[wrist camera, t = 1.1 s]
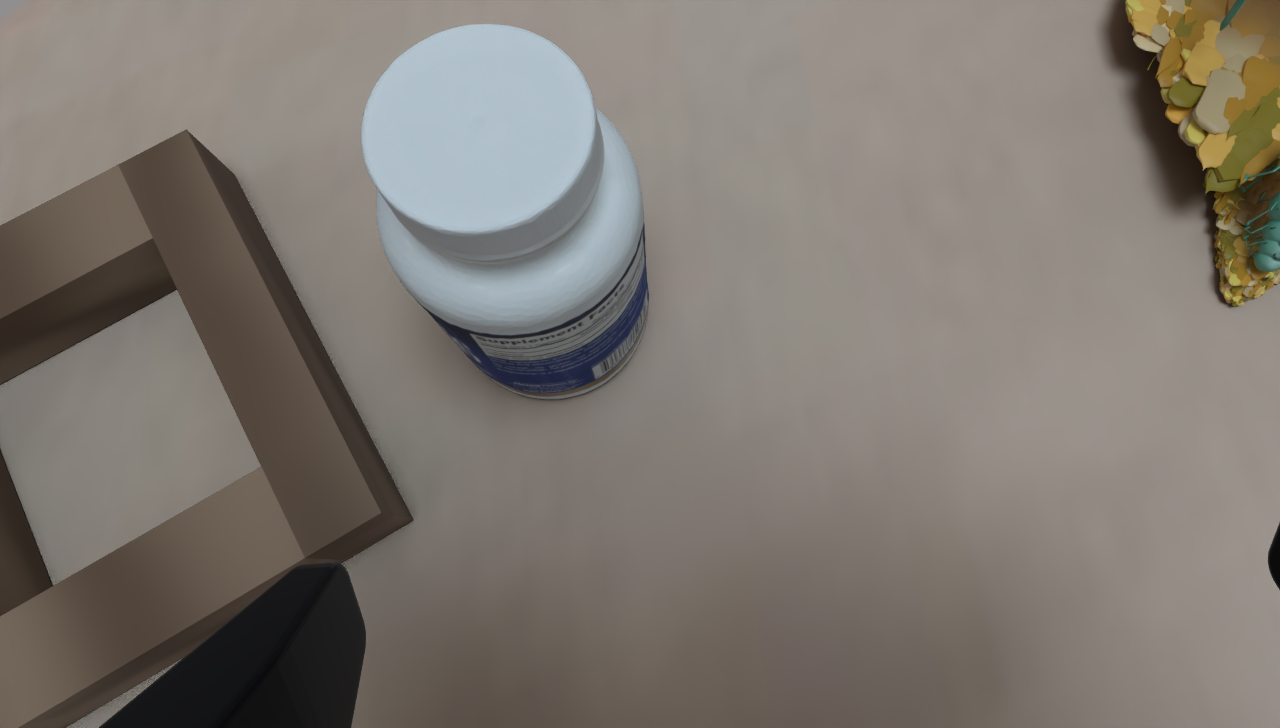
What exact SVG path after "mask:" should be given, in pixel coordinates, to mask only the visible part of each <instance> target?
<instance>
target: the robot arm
mask: <svg viewBox="0 0 1280 728" xmlns="http://www.w3.org/2000/svg"><path fill="white" fill-rule="evenodd" d="M1268 565H1269V570H1270V573H1271V575H1272V578H1273V580H1274V582H1275V583H1276V585H1277V586H1278V588H1279V590H1280V523H1279V526H1278V528H1277V531H1276V533H1275V536H1274V539H1273V541H1272V544H1271V547H1270V549H1269V553H1268ZM365 647H366V630H365V624H364V620H363V617H362V614H361V611H360V608H359V605H358V602H357V599H356V596H355V593H354V589H353V586H352V583H351V580H350V577H349V574H348V572H347V570H346V568H345V567H344V566H343V565H342V564H340V563H338V562H325V563H312V564H303V565H299V566H296V567H295V568H293V569H292V570H290V571H289V572H288V573H287V574H285V575H284V576H283V577H282V578H280V579H279V580H278V581H277V582H276V583H274V584H273V585H272V586H271V587H270V588H268V589H267V590H266V591H265V592H263V593H262V594H261V595H260V596H259V597H257V598H256V599H255V600H254V601H252V602H251V603H250V604H249V605H248V606H246V607H245V608H244V609H243V610H241V611H240V612H239V613H238V614H237V615H235V616H234V617H233V618H232V619H231V620H229V621H228V622H227V623H226V624H224V625H223V626H222V627H221V628H220V629H218V630H217V631H216V632H215V633H213V634H212V635H211V636H210V637H209V638H207V639H206V640H205V641H204V642H202V643H201V644H200V645H199V646H198V647H196V648H195V649H194V650H193V651H192V652H190V653H189V654H188V655H187V656H185V657H184V658H183V659H182V660H181V661H179V662H178V663H177V664H176V665H174V666H173V667H172V668H171V669H170V670H168V671H167V672H166V673H165V674H163V675H162V676H161V677H160V678H159V679H157V680H156V681H155V682H154V683H153V684H151V685H150V686H149V687H148V688H146V689H145V690H144V691H143V692H142V693H140V694H139V695H138V696H137V697H135V698H134V699H133V700H132V701H131V702H129V703H128V704H127V705H126V706H124V707H123V708H122V709H121V710H120V711H118V712H117V713H116V714H115V715H114V716H112V717H111V718H110V719H109V720H107V721H106V722H105V723H104V724H103V725H101V726H100V727H99V728H351V725H352V720H353V714H354V709H355V703H356V698H357V692H358V687H359V681H360V676H361V670H362V665H363V659H364V654H365Z"/></svg>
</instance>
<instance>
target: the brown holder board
mask: <svg viewBox="0 0 1280 728" xmlns="http://www.w3.org/2000/svg"><path fill="white" fill-rule="evenodd" d="M176 289H177V290H178V292H179V294H180V296H181V298H182V300H183V303H184V305H185V307H186V309H187V311H188V313H189V315H190V317H191V319H192V321H193V324H194V326H195V328H196V330H197V332H198V334H199V336H200V338H201V340H202V343H203V345H204V347H205V349H206V351H207V353H208V355H209V357H210V359H211V361H212V364H213V366H214V368H215V370H216V372H217V374H218V376H219V378H220V380H221V382H222V385H223V387H224V389H225V391H226V393H227V395H228V397H229V399H230V401H231V404H232V406H233V408H234V410H235V412H236V414H237V416H238V418H239V420H240V422H241V425H242V427H243V429H244V431H245V433H246V435H247V437H248V439H249V441H250V444H251V446H252V448H253V450H254V452H255V454H256V456H257V458H258V460H259V462H260V465H261V467H260V468H258V469H256V470H255V471H253V472H251V473H249V474H248V475H246V476H244V477H242V478H241V479H239V480H237V481H235V482H234V483H232V484H230V485H228V486H227V487H225V488H223V489H221V490H220V491H218V492H216V493H214V494H213V495H211V496H209V497H207V498H206V499H204V500H202V501H201V502H199V503H197V504H195V505H194V506H192V507H190V508H188V509H187V510H185V511H183V512H181V513H180V514H178V515H176V516H174V517H173V518H171V519H169V520H167V521H166V522H164V523H162V524H160V525H159V526H157V527H155V528H153V529H152V530H150V531H148V532H147V533H145V534H143V535H141V536H140V537H138V538H136V539H134V540H133V541H131V542H129V543H127V544H126V545H124V546H122V547H120V548H119V549H117V550H115V551H113V552H112V553H110V554H108V555H106V556H105V557H103V558H101V559H99V560H98V561H96V562H94V563H93V564H91V565H89V566H87V567H86V568H84V569H82V570H80V571H79V572H77V573H75V574H73V575H72V576H70V577H68V578H66V579H65V580H63V581H61V582H59V583H58V584H56V585H54V586H52V584H51V582H50V579H49V576H48V574H47V571H46V569H45V566H44V563H43V561H42V558H41V556H40V553H39V550H38V548H37V545H36V543H35V540H34V538H33V535H32V532H31V530H30V527H29V525H28V522H27V519H26V517H25V514H24V512H23V509H22V507H21V504H20V501H19V499H18V496H17V494H16V491H15V488H14V486H13V483H12V481H11V478H10V475H9V473H8V470H7V468H6V465H5V463H4V460H3V457H2V455H1V452H0V728H66V727H67V726H69V725H71V724H72V723H74V722H76V721H77V720H79V719H81V718H82V717H84V716H86V715H87V714H89V713H91V712H92V711H94V710H96V709H97V708H99V707H101V706H103V705H104V704H106V703H108V702H109V701H111V700H113V699H114V698H116V697H118V696H119V695H121V694H123V693H124V692H126V691H128V690H129V689H131V688H133V687H134V686H136V685H138V684H139V683H141V682H143V681H144V680H146V679H148V678H150V677H151V676H153V675H155V674H156V673H158V672H160V671H161V670H163V669H165V668H166V667H168V666H170V665H171V664H173V663H175V662H176V661H178V660H180V659H181V658H183V657H185V656H186V655H188V654H189V653H190V652H192V651H193V650H194V649H195V648H196V647H198V646H199V645H200V644H201V643H202V642H204V641H205V640H206V639H207V638H209V637H210V636H211V635H212V634H213V633H215V632H216V631H217V630H218V629H220V628H221V627H222V626H223V625H224V624H226V623H227V622H228V621H229V620H231V619H232V618H233V617H234V616H235V615H237V614H238V613H239V612H240V611H241V610H243V609H244V608H245V607H246V606H248V605H249V604H250V603H251V602H252V601H254V600H255V599H256V598H257V597H259V596H260V595H261V594H262V593H263V592H265V591H266V590H267V589H268V588H270V587H271V586H272V585H273V584H274V583H276V582H277V581H278V580H279V579H280V578H282V577H283V576H284V575H285V574H287V573H288V572H289V571H290V570H292V569H293V568H295V567H296V566H299V565H303V564H312V563H325V562H338V563H340V564H341V563H343V562H344V561H346V560H348V559H349V558H351V557H353V556H354V555H356V554H358V553H359V552H361V551H363V550H364V549H366V548H368V547H369V546H371V545H373V544H374V543H376V542H378V541H379V540H381V539H383V538H385V537H386V536H388V535H390V534H391V533H393V532H395V531H396V530H398V529H400V528H401V527H403V526H405V525H406V524H408V523H410V522H411V521H413V518H412V516H411V514H410V512H409V510H408V509H407V507H406V505H405V503H404V501H403V499H402V497H401V495H400V493H399V491H398V489H397V487H396V485H395V483H394V482H393V480H392V478H391V476H390V474H389V472H388V470H387V468H386V466H385V464H384V462H383V460H382V458H381V456H380V455H379V453H378V451H377V449H376V447H375V445H374V443H373V441H372V439H371V437H370V435H369V433H368V431H367V429H366V428H365V426H364V424H363V422H362V420H361V418H360V416H359V414H358V412H357V410H356V408H355V406H354V404H353V402H352V401H351V399H350V397H349V395H348V393H347V391H346V389H345V387H344V385H343V383H342V381H341V379H340V377H339V375H338V374H337V372H336V370H335V368H334V366H333V364H332V362H331V360H330V358H329V356H328V354H327V352H326V350H325V348H324V347H323V345H322V343H321V341H320V339H319V337H318V335H317V333H316V331H315V329H314V327H313V325H312V323H311V321H310V319H309V318H308V316H307V314H306V312H305V310H304V308H303V306H302V304H301V302H300V300H299V298H298V296H297V294H296V292H295V291H294V289H293V287H292V285H291V283H290V281H289V279H288V277H287V275H286V273H285V271H284V269H283V267H282V265H281V264H280V262H279V260H278V258H277V256H276V254H275V252H274V250H273V248H272V246H271V244H270V242H269V240H268V238H267V237H266V235H265V233H264V231H263V229H262V227H261V225H260V223H259V221H258V219H257V217H256V215H255V213H254V211H253V210H252V208H251V206H250V204H249V202H248V200H247V198H246V196H245V194H244V192H243V190H242V188H241V186H240V184H239V183H238V181H237V179H236V177H235V175H234V174H233V173H232V172H231V171H230V170H229V169H228V168H227V167H226V166H225V165H224V164H223V163H222V162H221V161H219V160H218V159H217V158H216V157H215V156H214V155H213V154H212V153H211V152H210V151H209V150H208V149H207V148H206V147H204V146H203V145H202V144H201V143H200V142H199V141H198V140H197V139H196V138H195V137H194V136H193V135H192V134H191V133H190V132H188V131H187V130H184V131H183V132H181V133H179V134H177V135H175V136H173V137H171V138H169V139H167V140H165V141H163V142H161V143H159V144H157V145H155V146H154V147H152V148H150V149H148V150H146V151H144V152H142V153H140V154H138V155H136V156H134V157H132V158H130V159H128V160H126V161H125V162H123V163H121V164H119V165H117V166H115V167H113V168H111V169H109V170H107V171H105V172H103V173H101V174H99V175H97V176H96V177H94V178H92V179H90V180H88V181H86V182H84V183H82V184H80V185H78V186H76V187H74V188H72V189H70V190H69V191H67V192H65V193H63V194H61V195H59V196H57V197H55V198H53V199H51V200H49V201H47V202H45V203H43V204H41V205H40V206H38V207H36V208H34V209H32V210H30V211H28V212H26V213H24V214H22V215H20V216H18V217H16V218H14V219H12V220H11V221H9V222H7V223H5V224H3V225H1V226H0V384H2V383H4V382H6V381H7V380H9V379H11V378H13V377H15V376H17V375H18V374H20V373H22V372H24V371H26V370H28V369H30V368H31V367H33V366H35V365H37V364H39V363H41V362H43V361H44V360H46V359H48V358H50V357H52V356H54V355H55V354H57V353H59V352H61V351H63V350H65V349H67V348H68V347H70V346H72V345H74V344H76V343H78V342H80V341H81V340H83V339H85V338H87V337H89V336H91V335H92V334H94V333H96V332H98V331H100V330H102V329H104V328H105V327H107V326H109V325H111V324H113V323H115V322H117V321H118V320H120V319H122V318H124V317H126V316H128V315H129V314H131V313H133V312H135V311H137V310H139V309H141V308H142V307H144V306H146V305H148V304H150V303H152V302H154V301H155V300H157V299H159V298H161V297H163V296H165V295H166V294H168V293H170V292H172V291H174V290H176Z"/></svg>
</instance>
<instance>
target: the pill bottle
mask: <svg viewBox="0 0 1280 728" xmlns="http://www.w3.org/2000/svg"><path fill="white" fill-rule="evenodd" d="M361 142H362V151H363V156H364V160H365V163H366V167H367V169H368V172H369V175H370V177H371V179H372V181H373V183H374V184H375V186H376V188H377V189H378V192H377V203H376V207H377V225H378V230H379V235H380V239H381V243H382V246H383V249H384V252H385V254H386V256H387V259H388V261H389V263H390V265H391V267H392V268H393V270H394V272H395V273H396V275H397V276H398V278H399V279H400V281H401V282H402V284H403V286H404V287H405V288H406V289H407V291H408V292H409V293H410V294H411V295H412V296H413V297H414V298H415V299H416V301H417V302H418V303H419V304H420V305H421V306H422V307H423V308H424V309H425V310H426V311H427V312H428V313H429V314H430V315H431V316H432V317H433V318H434V319H435V321H436V322H437V323H438V324H439V325H440V326H441V328H442V329H443V330H444V331H445V332H446V333H447V334H448V335H449V336H450V337H451V338H452V339H453V341H454V342H455V343H456V344H457V345H458V346H459V347H460V348H461V349H462V351H463V352H464V353H465V354H466V355H467V357H468V358H469V359H470V360H471V361H472V362H473V363H474V364H475V365H476V366H477V367H478V368H479V369H480V370H481V371H482V372H483V373H484V374H485V375H486V376H488V377H489V378H490V379H491V380H493V381H494V382H496V383H497V384H499V385H500V386H502V387H504V388H506V389H508V390H510V391H512V392H514V393H517V394H520V395H523V396H527V397H532V398H539V399H562V398H568V397H572V396H577V395H581V394H584V393H586V392H589V391H591V390H593V389H595V388H597V387H599V386H601V385H602V384H604V383H605V382H607V381H608V380H610V379H611V378H612V377H613V376H614V375H616V374H617V373H618V372H619V371H620V370H621V369H622V368H623V367H624V365H625V364H626V363H627V362H628V361H629V360H630V358H631V357H632V355H633V354H634V352H635V350H636V349H637V347H638V345H639V343H640V340H641V338H642V335H643V332H644V329H645V324H646V320H647V313H648V301H649V290H648V283H647V272H646V254H645V229H644V211H643V201H642V192H641V185H640V179H639V175H638V171H637V167H636V164H635V161H634V159H633V156H632V154H631V152H630V150H629V148H628V146H627V144H626V142H625V140H624V139H623V137H622V136H621V134H620V133H619V131H618V130H617V129H616V127H615V126H614V125H613V124H612V123H611V121H610V120H609V119H608V118H607V117H606V116H605V115H603V114H602V113H601V112H600V111H599V110H598V109H596V108H595V104H594V99H593V96H592V93H591V91H590V88H589V86H588V84H587V82H586V80H585V78H584V76H583V74H582V72H581V71H580V69H579V68H578V66H577V65H576V64H575V63H574V62H573V61H572V59H571V58H570V57H569V56H568V55H567V54H566V53H564V52H563V51H562V50H561V49H560V48H558V47H557V46H556V45H555V44H554V43H552V42H550V41H548V40H547V39H545V38H543V37H541V36H539V35H537V34H534V33H532V32H530V31H528V30H524V29H521V28H517V27H513V26H505V25H498V24H475V25H465V26H460V27H456V28H452V29H449V30H445V31H442V32H439V33H436V34H434V35H432V36H430V37H428V38H426V39H424V40H423V41H421V42H419V43H417V44H416V45H414V46H412V47H411V48H409V49H408V50H407V51H405V52H404V53H403V54H402V55H400V56H399V57H398V58H397V59H395V60H394V62H393V63H392V64H391V65H390V66H389V68H388V69H387V70H386V71H385V72H384V73H383V74H382V76H381V77H380V79H379V80H378V82H377V83H376V85H375V86H374V88H373V90H372V93H371V95H370V97H369V99H368V102H367V105H366V108H365V112H364V117H363V123H362V130H361Z"/></svg>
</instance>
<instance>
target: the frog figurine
mask: <svg viewBox="0 0 1280 728" xmlns="http://www.w3.org/2000/svg"><path fill="white" fill-rule="evenodd" d="M1125 4H1126V6H1125V7H1126V9H1125V10H1126V12H1127V16H1128V19H1129V23H1130V22H1131V24H1132V25H1133V27H1134V30H1133V33H1132V35H1133V36H1134V38H1133V40H1134V42H1135V45H1136V46H1137V47H1138V48H1140V49H1142V50H1146V51H1149V52H1156V53H1157V55H1156V56H1157V60H1158V61H1159V62H1160V64H1159V69H1158V72H1157V74H1156V76H1157V75H1158V74H1159V75H1158V77H1157V81H1158V83H1159V85H1160V87H1162V89H1161V91H1160V92H1161V96H1162V98H1163V100H1164V102H1165V103H1167V104H1169V105H1168V106H1167V109H1166V112H1165V115H1166V117H1167V118H1168V119H1169V120H1170V121H1171V122H1173V123H1176V124H1179V127H1178V134H1179V136H1180V138H1181V139H1182V140H1183V141H1184V142H1185V143H1186V144H1187V146H1192V147H1195V149H1196V151H1197V152H1196V156H1197V158H1198V159H1199V160H1200V162H1201V163H1202V166H1203V170H1204V169H1205V168H1207V169H1208V170H1207V173H1206V176H1205V182H1204V183H1203V185H1202V186H1203V187H1204V188H1205V189H1206V193H1207V192H1208V191H1216V192H1215V194H1214V197H1215V198H1216V199H1217V200H1216V201H1215V203H1214V206H1213V210H1214V211H1216V212H1215V214H1218V213H1219V214H1218V217H1217V220H1216V226H1217V227H1218V228H1219V229H1218V230H1217V231H1216V233H1215V235H1214V239H1215V240H1216V242H1215V244H1214V247H1215V248H1216V250H1217V251H1218V252H1217V255H1216V257H1215V258H1214V260H1215V262H1217V264H1216V268H1217V269H1218V268H1219V272H1220V276H1221V277H1220V281H1221V282H1220V283H1219V285H1220V289H1219V290H1220V292H1221V293H1222V294H1223V296H1224V298H1225V300H1226V302H1227V303H1232V306H1237V305H1238V306H1239V305H1240V304H1241V305H1244V302H1243V301H1244V300H1247V301H1248V300H1249V299H1250V298H1251V299H1252V298H1253V297H1255V298H1258V297H1259V296H1260V295H1263V294H1264V293H1265V291H1267V290H1268V289H1269V288H1271V287H1273V285H1274V284H1280V0H1126V2H1125ZM1129 23H1128V24H1129ZM1156 56H1155V57H1156ZM1153 60H1154V59H1153ZM1153 60H1152V61H1153ZM1151 63H1152V62H1151ZM1151 63H1150V65H1151ZM1150 65H1149V67H1150ZM1149 67H1148V69H1147V71H1148V70H1149ZM1206 193H1205V194H1206ZM1204 197H1205V196H1204Z"/></svg>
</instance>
